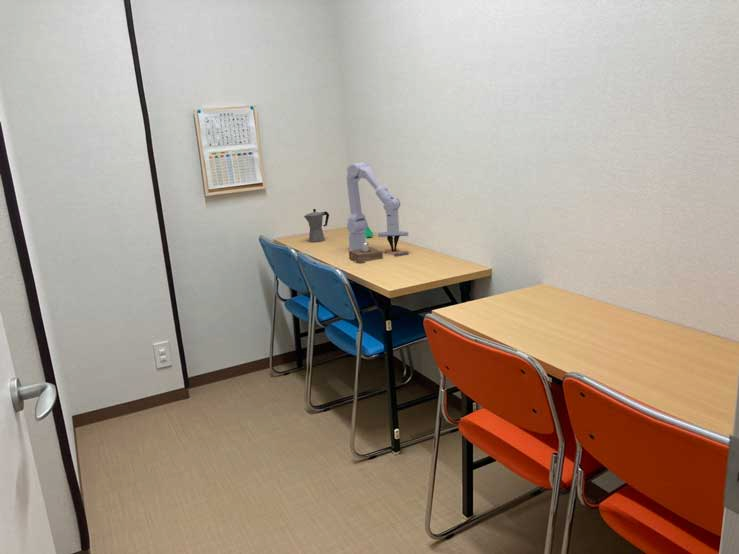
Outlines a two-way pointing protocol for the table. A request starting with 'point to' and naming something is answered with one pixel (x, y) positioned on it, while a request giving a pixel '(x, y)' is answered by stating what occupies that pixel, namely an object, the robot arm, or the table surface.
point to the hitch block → (365, 255)
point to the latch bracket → (401, 254)
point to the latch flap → (392, 251)
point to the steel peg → (365, 247)
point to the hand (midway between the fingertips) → (394, 250)
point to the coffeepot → (316, 225)
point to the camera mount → (368, 232)
